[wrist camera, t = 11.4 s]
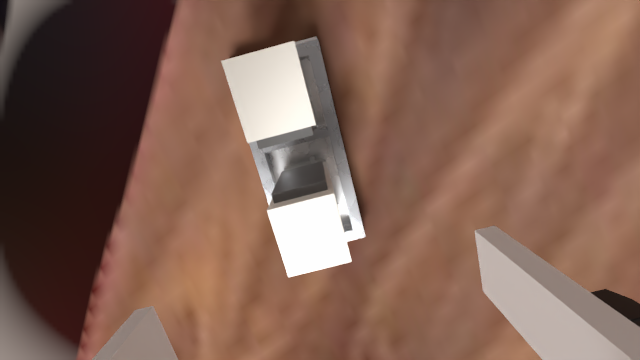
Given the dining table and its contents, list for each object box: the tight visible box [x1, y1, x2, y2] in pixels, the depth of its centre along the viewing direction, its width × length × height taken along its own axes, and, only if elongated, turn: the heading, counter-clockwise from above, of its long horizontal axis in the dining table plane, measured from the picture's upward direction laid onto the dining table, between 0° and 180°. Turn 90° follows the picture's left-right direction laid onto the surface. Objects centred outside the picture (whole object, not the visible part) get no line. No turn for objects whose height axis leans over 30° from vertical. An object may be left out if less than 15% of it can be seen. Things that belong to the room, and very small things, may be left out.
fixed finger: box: [221, 41, 316, 149], centre depth 21 cm, size 4×5×10 cm
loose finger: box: [267, 161, 352, 277], centre depth 23 cm, size 4×5×10 cm
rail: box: [249, 36, 365, 241], centre depth 26 cm, size 18×8×2 cm, turn 14°
